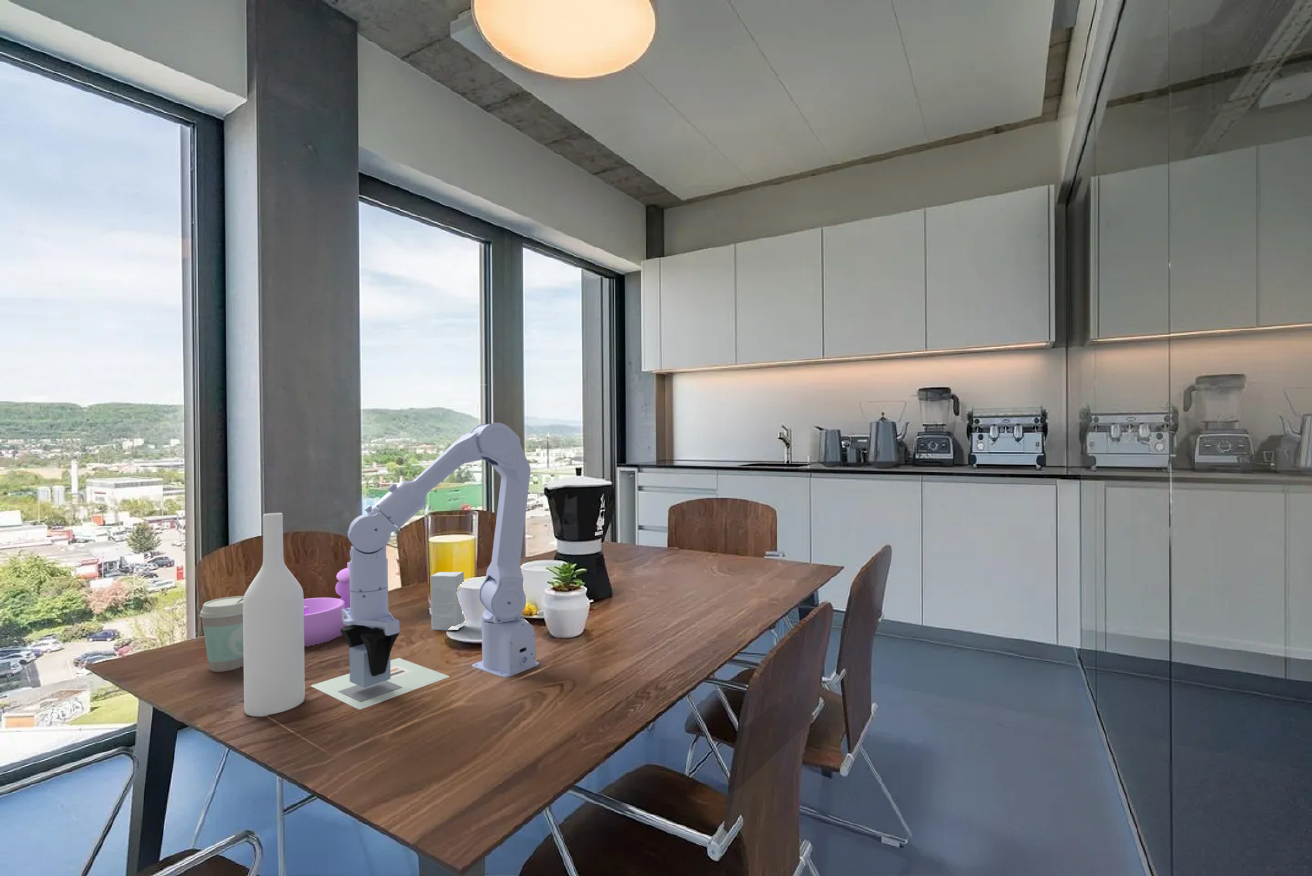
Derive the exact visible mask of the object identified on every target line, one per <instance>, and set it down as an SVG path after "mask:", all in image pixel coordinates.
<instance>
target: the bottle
mask: <svg viewBox="0 0 1312 876" xmlns="http://www.w3.org/2000/svg"><path fill="white" fill-rule="evenodd" d="M283 518H284V515H283V513H282V512H269V513H264V514H263V515H262V544H263V545H262V546H263V549H262V553H263V554H262V565H261V567H260V569H259V571H258V573H257V574H256V575H255V577H254V578H253V580H252V581H251V583H250V584H249V586H248V587H247V589H246V591H245V592H244V595H243V596H244V599H243V650H244V666H243V703H244V704H243V708H244V713H245V714H246V715H247V716H250V717H259V718H260V717H262V718H263V717H268V716H269V715H273V714H278V713H282V712H283V713H284V712H285V711H288V710H291V709H293V708H296V707H298V706H300V705H301V704H302V703H304V701H305V697H306V696H305V695H306V694H305V693H306V690H305V689H306V687H305V685H306V684H305V682H306V681H305V679H306V677H305V647H304V599H305V598H304V591H303V590H304V589H303V587H302V585H301V584H300V582H299V581H298V579H296V577H295V576H294V574H293V573H292V572H291V571H290V569H289V568H288V567H287V565H286V563H285V557H284V522H283V521H284V520H283Z"/></svg>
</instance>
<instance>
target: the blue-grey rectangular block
mask: <svg viewBox="0 0 1312 876" xmlns="http://www.w3.org/2000/svg"><path fill="white" fill-rule="evenodd" d="M348 648H349V647H348ZM348 651H349V655H348V656H349V659H348V661H349V673H350V682H352V683H354V684H356V685H359V686H361V687H363V688H365V687H368V686H371V685H374V684H377V683H380V682H383V681H386V680H389V679H391V669H390V660H391V655H390V656H389V659H388V664H387V668H386V671H385V673H383V674H380V675H377V676H372V675H371V672H370V667H369V660H368V654H367V650H366V647H365V644H362V645H358V646H354V647H351V648H349V649H348Z"/></svg>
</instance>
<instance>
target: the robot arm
mask: <svg viewBox="0 0 1312 876" xmlns="http://www.w3.org/2000/svg"><path fill="white" fill-rule="evenodd" d="M482 460H483V461H485V462H487V463H488V464H489V465H490V466H491V467H492V468H493V469H494V470H495V471H496V472H497V473H498V474H499V476H500V487H499V495H498V502H497V512H496V519H495V521H496V522H495V529H494V535H493V537H494V538H493V543H492V545H493V546H492V547H493V548H492V554H491V561H490V564H489V565H488V566H487V569H486V575H485V579H484V580H483V582H482V583H481V585H480V587H479V591H478V598H479V601H480V603H481V605H483V606H484V611H482V615H481V654H482V655H481V656H482V657H481V658H482V660H481V661H478V662H475V663H473V664H472V665H471V668H474V669H477V670H479V671H482V672H483V671H484V672H485V673H489V674H492V675H494V676H497V677H501V678H503V679H506V678H509V677H511V676H514V675H517V674H519V673H522V672H524V671H528V670H529V669H532V668H534V667H538V666H540V662H539V661H536V660H537V659H536V655H537V654H536V652H537V651H536V630H535V628H534V626H533V625H532V624H531V623H529V622H528V621H526V619H525V618H524V616H523V614H524V612H523V611H524V610H525V608H526V603H527V597H526V594H525V590H524V576H523V572H522V568H521V559H522V558H521V557H522V548H523V543H524V541H523V539H524V531H525V523H526V514H527V513H526V512H527V506H528V499H529V496H528V495H529V488H530V487H529V486H530V480H531V465H530V463H529V461H528V459H527V456H526V454H525V452H524V449H523V447H522V445H521V440H520V436H519V435H518V434H517V433H516V432H515V431H514V430H512V429H511V427H510V426H508V425H507V424H504V423H503V422H492V423H481V424H478V425H476V426H474V427H473V428H472V429H471V431H469V432H466V433H465V434H464V435H462V436H460V438H458V439H457V440H455V441H454V442H453V443H452V444H451V445H449V446H448V447H447V448H446V450H444V451H443V452H442V453H441V454H440V455H439V456H438V457H437V458H435V459H434V460H433V462H431V464H429V465H428V466H427V467H426V468H425V469H424V470H423V471H422V472H421V473H420V474H419V475H418V476H417V477H415V478H414V480H402V481H400V482H398V483H397V484H395V483H391V484H390V485H389V486H388V487H387V490H388V491H387V492H386V494H384V495H383V496H381V498H380V499H379V500H377V501H376V502H375V503H374V504H372V505H366V507H365V508H364V511H365V512H366V513H365V514H361V515H358V516H357V517H355V518H354V519H353V520H352V521H351V523H350V524H349V526H348V531H347V532H346V533H347V538H348V540H349V542H350V543H351V544H352V545H351V546H350V550H349V557H350V561H349V562H350V563H349V566H350V608H346V609H342V621H343V624H345V627H343V628H341V633H342V636H343V637H344V639H345V641H346V643H347V645H348V648H351V647H354V646H358V645H362V644H365V647H366V650H367V654H368V660H369V667H370V672H371V675H372V676H377V675H380V674H383V673H385V671H386V668H387V664H388V659H389V656H390V657H391V652H392V648H393V646H394V644H395V642H396V641H397V638H398V637H399V635H400V633H401V632H400V631H401V630H400V627H401V626H400V625H401V624H400V620H399V619H396V618H395V617H394V616H393V615H392V613H391V612H390V611H389V572H388V571H389V564H388V563H389V560H388V557H387V545H388V543H389V541H390V539H391V533H395V532H397V531H399V529H401V528H402V527H403V526H404V525H405V524H406V523H407V522H409V521H410V519H412V518H413V517H414V516H415V515H417V513H418V512H419V511H420V510H422V509H423V508H424V507H425V506H426V500H427V499H426V498H427V494H428V493H429V492H431V491H432V490H433V489H434V488H435V487H437V486H438V485H440V483H442V482H443V481H445V479H447V477H449V476H450V475H451V474H453V473H454V472H455V471H456V470H458V468H460V467H461V466H463V465H464V464H468V463H473V462H478V461H482Z"/></svg>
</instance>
